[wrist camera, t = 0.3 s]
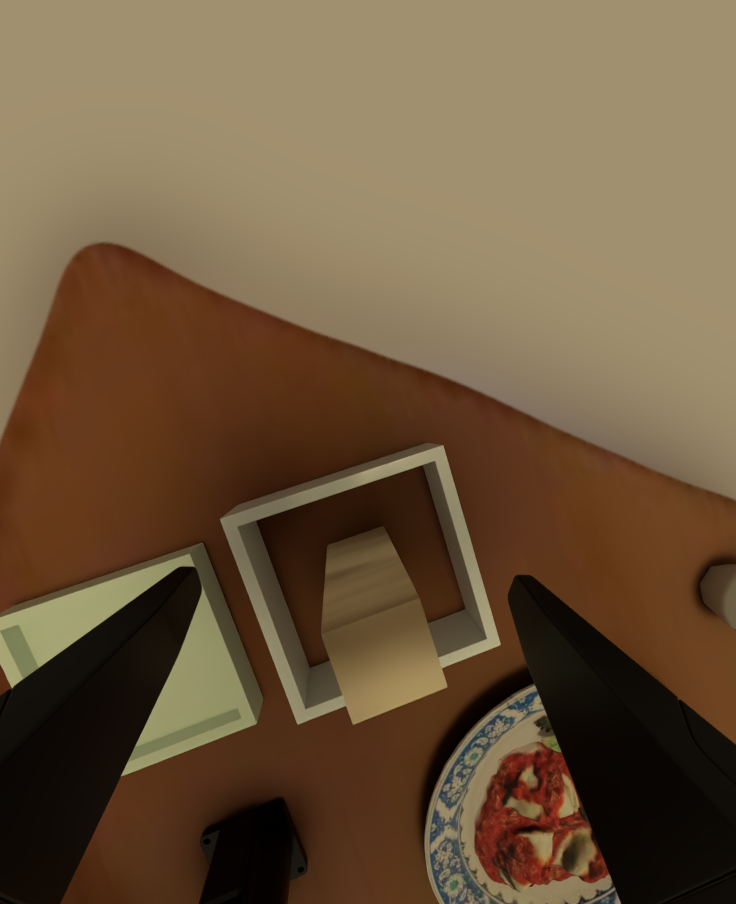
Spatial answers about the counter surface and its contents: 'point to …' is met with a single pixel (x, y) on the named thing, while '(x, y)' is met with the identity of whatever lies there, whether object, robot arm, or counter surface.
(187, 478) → the counter surface
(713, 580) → the salt shaker
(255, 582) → the frame
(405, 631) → the birch peg
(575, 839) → the ceramic plate
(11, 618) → the tray
